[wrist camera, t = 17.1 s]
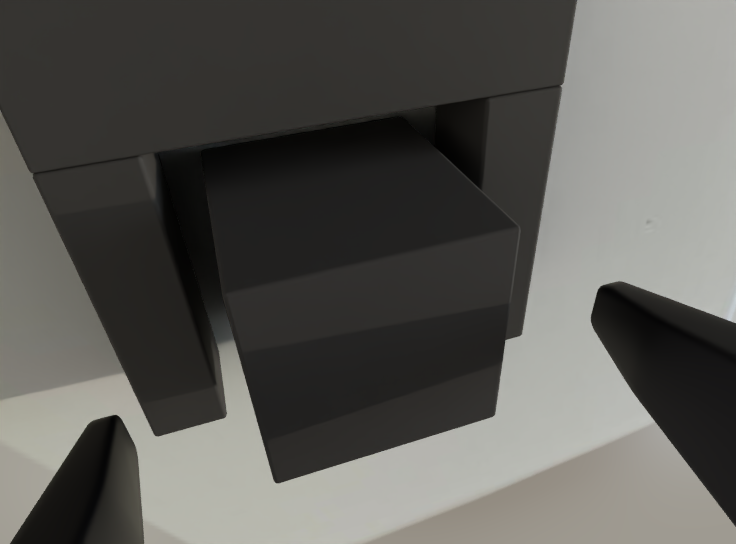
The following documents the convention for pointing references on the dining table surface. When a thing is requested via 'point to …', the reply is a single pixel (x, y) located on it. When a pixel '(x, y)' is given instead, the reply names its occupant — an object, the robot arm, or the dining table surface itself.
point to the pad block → (359, 289)
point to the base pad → (254, 133)
